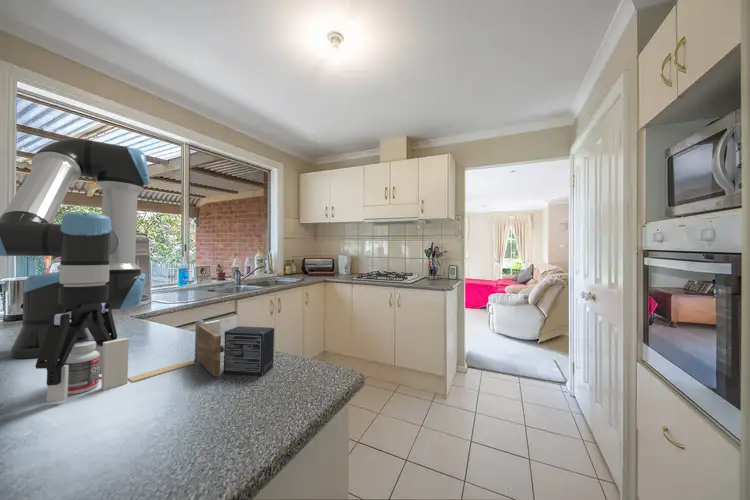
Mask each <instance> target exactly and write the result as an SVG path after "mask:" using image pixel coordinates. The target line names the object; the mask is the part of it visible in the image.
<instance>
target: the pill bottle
mask: <svg viewBox="0 0 750 500" xmlns="http://www.w3.org/2000/svg"><path fill="white" fill-rule="evenodd" d="M96 346H97V343H96V341H95V340H89V341H85V342H79V343H75V344H74V346H73V348H72V350H71V352H70V354H69V356H68V358H67V361H66V363H65V365H69V370H68V395H76V394H80V393H81V394H82V393H85V392H89V391H91V390H93V389H95V388H96V387H97V386H99V380H100V374H99V360H100V354H99V352H98V351H94V349H95V348H96Z"/></svg>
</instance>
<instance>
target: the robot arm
mask: <svg viewBox="0 0 750 500" xmlns="http://www.w3.org/2000/svg"><path fill="white" fill-rule="evenodd" d="M146 156H147V155H146V154H145V152H144V151H142V150H141V149H139V148H134V147H130V146H127V145H126V146H125V145H119V144H114V143H113V144H112V143H108V142H101V141H96V140H90V139H87V138H74V137H73V138H66V139H61V140H57V141H54V142H51V143H48V144H46V145H45V146H43V147H41V148H40V149H39V150H38V151H36V153H35V154H34V155H33V157H32V158H31V166H32V169H31V170H30V172H29V173H28V174H27V176H26V177H25V179H24V181H23V182H22V184H21V185H20V187H19V189H17V191H16V193H15V195H14V196H13V198H12V199H11V201H10V202H9V204H8V206H6V209H5V210H4V211H3V213H2V214H1V216H0V256H1V257H2V256H3V257H30V256H31V257H33V256H34V257H40V256H41V257H60V259H59V260H60V261H59V264H60V266H59V267H60V268H59V272H57V271H55V272H48V273H38V274H33V275H30V276H27V278H26V279H25V281H24V286H23V291H22V293H23V296H22V297H23V298H22V327H21V328H20V331H19V332H18V335H17V337H16V338H15V341H14V342H13V344H12V346H11V348H10V349H11V350H10V357H11V358H13V359H14V358H15V359H34V358H37V360H36V362H35V366H34V367H35V369H37V370H38V369H39V370H40V369H45V370H46V385H47V386H46V387H47V388H46V389H47V390H46V391H47V392H46V402H53V401H54V402H56V401H57V402H58V401H64V400H66V399H68V395H69V394H68V370H69V365H65V363H66V361H67V358H68V356H69V355H70V354H71V353H70V352H71V350H72V348H73V346H74V344H75V343H79V342H85V341H90V336H89V334H88V332H87V329H88V331H89V333H90V334H91V336H92V338H93V339H94V340H93V341H95V342H96V348H95V349H94V351H98V352H99V354H100V360H99V375H102V356H103V342H107V341H112V340H117V339H118V333H117V329H116V325H115V320H114V317H113V312H112V311H115V310H119V311H122V310H125V309H126V310H127V309H128V310H129V309H134V308H137V307H138V306H139V305H140V304H141V301H142V298H143V294H144V289H145V286H146V279H147V274H146V273H143V272H141V271H142V270H141V267H140V266H139V265H138V264H137V263H136V247H137V221H138V219H137V218H138V217H137V216H138V215H137V214H138V194H139V193H141V192H143V191H144V187H145V186H148V185H150V176H149V168H148V163H147V158H146ZM81 177H83V178H84V177H85V178H91V179H96V185H98V187H100V188H101V189H102V196H101V197H102V202H101V214H98V213H90V212H89V213H88V212H87V213H86V212H65V213H64V214H63V215H62V217H61V218H62V219H61V220H62V221H61V223H53V222H54V220H55V217H56V215H57V213H58V212H59V210H60V207H61V205H62V204H63V201H64V199H65V197H66V195H67V193H68V191H69V189H70V187H71V185H72V182H75V181H77V180H78V179H79V178H81Z"/></svg>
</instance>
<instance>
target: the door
mask: <svg viewBox="0 0 750 500" xmlns="http://www.w3.org/2000/svg"><path fill="white" fill-rule="evenodd" d="M221 339H222V335H221V334H220V335H219V334H218V333H216V332H214V331H213V330H211V329H210V328H208V327H206V326H205V325H200V326H199V336H198V363H199V364H201V366H202V367H204V368H205V369H206V370H207V371H208V372H209V373H210V374H211V375H212V377H218V376H220V375H221V353H224V344H223V345H222V340H221Z"/></svg>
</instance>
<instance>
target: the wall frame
mask: <svg viewBox="0 0 750 500" xmlns="http://www.w3.org/2000/svg"><path fill="white" fill-rule="evenodd" d="M200 325H205V326H206V327H208V328H210V329H211V330H213V331H214V332H216V333H218V334H219V335H221V320H219V319H217V320H212V321H207V322H204V319H197V320H195V336H194V340H195V341H194V345H195V346H194V361H192V360H189V359H188V360H185V361H182V362H178V363H175V364H171V365H168V366H164V367H160V368H157V369H155V370H154V369H153V370H151V371H147V372H145V373H140V374H137V375H134V376H131V377H128V372H129V371H128V370H129V345H130V344H129V343H130V342H129V341H130V339H129V338H128V337H124V338H123V337H121V338H117V339H114V340H112V341H107V342H103V356H102V374H101V385H100V389H101V390H103V391H105V390H110V389H113V388H115V387H120V386H123V385H126V384H128V381H129V382H131V383H136V382H140V381H144V380H147V379H150V378H153V377H156V376H159V375H162V374H166V373H169V372H172V371H175V370H179V369H181V368H185V367H189V366H191V365H195V362H198V336H199V326H200ZM198 363H199V362H198Z"/></svg>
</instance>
